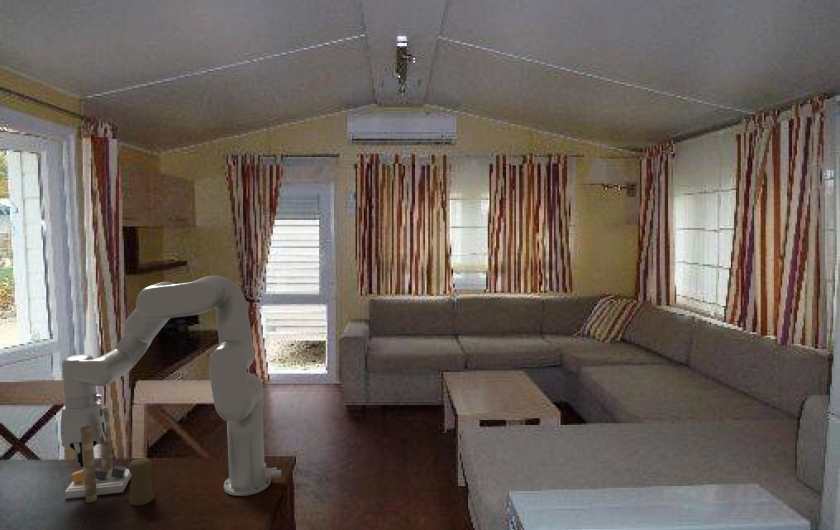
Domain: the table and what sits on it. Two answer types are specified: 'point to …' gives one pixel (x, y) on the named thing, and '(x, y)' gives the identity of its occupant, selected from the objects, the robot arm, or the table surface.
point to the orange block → (78, 476)
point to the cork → (140, 482)
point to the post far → (106, 443)
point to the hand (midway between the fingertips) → (85, 464)
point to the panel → (100, 486)
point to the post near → (88, 464)
